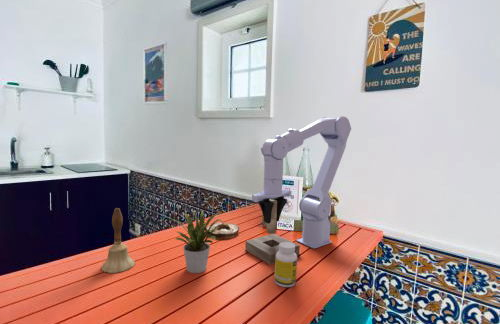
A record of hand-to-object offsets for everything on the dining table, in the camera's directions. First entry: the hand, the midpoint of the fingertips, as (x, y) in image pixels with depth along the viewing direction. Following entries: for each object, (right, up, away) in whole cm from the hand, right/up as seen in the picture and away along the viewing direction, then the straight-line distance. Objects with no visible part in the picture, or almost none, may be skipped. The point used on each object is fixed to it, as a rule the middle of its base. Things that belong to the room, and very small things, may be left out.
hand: (271, 221), depth 87 cm
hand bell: (-43, -10, -11) cm, 45 cm away
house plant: (-20, -11, -11) cm, 25 cm away
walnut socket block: (0, -10, +1) cm, 10 cm away
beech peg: (0, -3, 0) cm, 3 cm away
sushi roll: (-17, -8, +17) cm, 25 cm away
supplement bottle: (+2, -12, -16) cm, 20 cm away
